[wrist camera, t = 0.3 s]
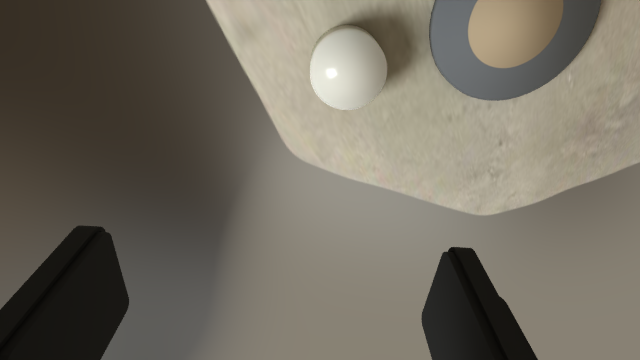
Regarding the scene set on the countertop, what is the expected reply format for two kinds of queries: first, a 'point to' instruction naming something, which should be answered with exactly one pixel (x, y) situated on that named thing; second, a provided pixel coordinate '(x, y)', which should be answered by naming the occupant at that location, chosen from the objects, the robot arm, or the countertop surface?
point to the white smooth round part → (347, 67)
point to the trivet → (507, 42)
